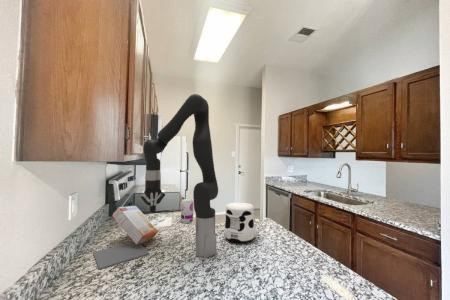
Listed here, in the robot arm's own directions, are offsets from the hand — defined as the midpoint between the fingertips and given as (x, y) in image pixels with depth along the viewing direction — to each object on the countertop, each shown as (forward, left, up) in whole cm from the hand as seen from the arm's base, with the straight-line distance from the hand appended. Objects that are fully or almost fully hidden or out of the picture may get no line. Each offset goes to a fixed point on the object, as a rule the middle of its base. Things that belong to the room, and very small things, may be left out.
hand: (152, 212), depth 105 cm
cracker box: (+2, +1, -13) cm, 13 cm away
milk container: (-22, -40, -17) cm, 49 cm away
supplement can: (+21, -31, -17) cm, 41 cm away
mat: (0, +15, -16) cm, 22 cm away
